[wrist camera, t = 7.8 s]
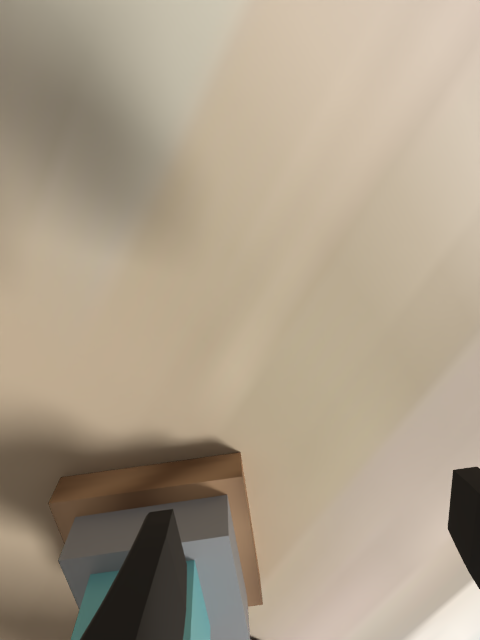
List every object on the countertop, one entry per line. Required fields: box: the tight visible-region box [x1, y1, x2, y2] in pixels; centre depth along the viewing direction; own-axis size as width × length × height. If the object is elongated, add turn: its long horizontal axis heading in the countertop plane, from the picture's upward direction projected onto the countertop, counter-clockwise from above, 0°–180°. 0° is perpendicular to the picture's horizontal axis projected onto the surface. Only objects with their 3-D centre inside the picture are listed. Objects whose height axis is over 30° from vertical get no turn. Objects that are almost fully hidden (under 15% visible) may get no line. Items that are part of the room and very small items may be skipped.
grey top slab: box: [58, 495, 250, 640], centre depth 22 cm, size 8×8×2 cm
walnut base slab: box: [48, 452, 263, 606], centre depth 24 cm, size 10×10×2 cm
